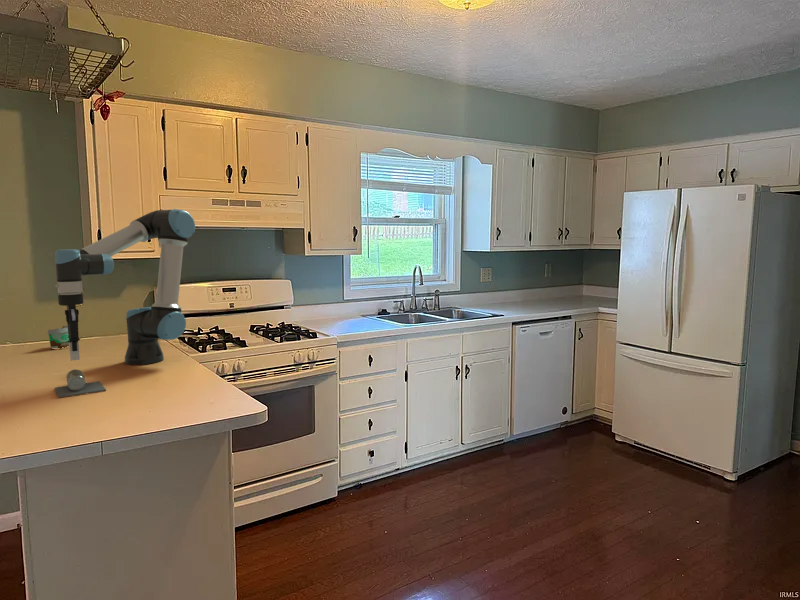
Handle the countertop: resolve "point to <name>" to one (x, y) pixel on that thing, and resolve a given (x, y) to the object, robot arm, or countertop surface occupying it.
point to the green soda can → (75, 380)
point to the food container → (59, 337)
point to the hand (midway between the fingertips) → (75, 359)
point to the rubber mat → (87, 388)
